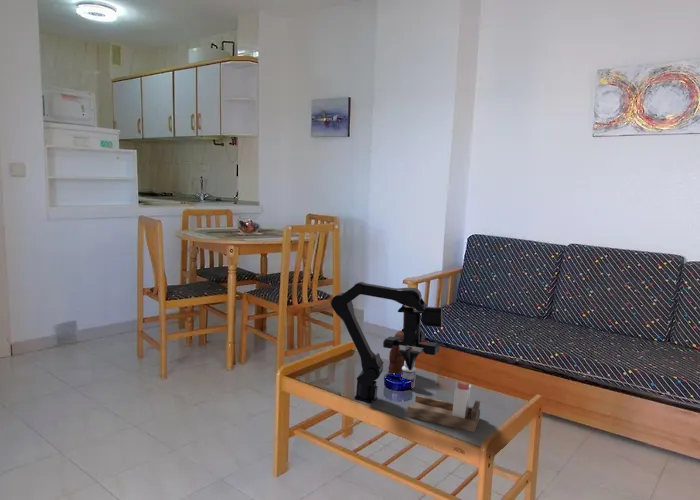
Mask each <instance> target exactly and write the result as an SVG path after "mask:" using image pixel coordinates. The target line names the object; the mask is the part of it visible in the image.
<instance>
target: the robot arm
mask: <svg viewBox="0 0 700 500" xmlns="http://www.w3.org/2000/svg"><path fill="white" fill-rule="evenodd" d="M360 295H362V296H363V295H364V296H369V297H373V298H379V299H385V300H391V301H394V302H396V303H398V304H400V305H401V307H399V308H398V310H397V312H398V313H403V316H402V317H403V318H402V319H403V320H402V321H403V322H402V327H403V328H402V329H401V331H402V332H403V340H402V341H400V339H399V338H398V337H394V336H391V335H390V336H388V337H387V338H385V339H384V340H383V342H382V347H383V348H385V349H391V348H392V347H393V346H399V350H398V352H400V353H401V354H402V356H403V358H404V360H405V362H406V364H407V367H408V369H409V370H412V368H413V366H414V363H415V364H416V359H417V358H418V356H419V355H421V354H422V353H424V354H425V355H431V356H435V355H436V354H438V353H439V352H440V351H441V350H440V349H441V348H440V344H439V343H438V342H431V341H428V342H426V343H424V342H425V338H426V332H423V331H422V326H421V324H422V325H424V327H429V328H431V327H432V328H441V329H442V328H443V316H444V315H443V308H442V307H441V306H437V307H435V306H427V304H426V302H425V301H424V299H423V298H422V292H421V291H420V289H418V288H417V287H400V288H399V287H398V288H396V287H395V288H394V287H388V286H383V285H377V284H373V283H365V282H363V281H359V282H356V283H355V284H354V285H353V286H352V287H350V288H349V289H348V290H347V291H345V292H339V293H338V294H337V295H335V296H333V297H332V298H331V301H330V306H331V308H332V310H333V312H335V313H336V315H337V316H338V317H339V318H340V319H341V320H342V321H343V323H344V325H345V327H346V329H347V332H348V334H349V336H350V338H351V340H352V342H353V344H354V347H355V349H356V350H357V352H358V355H359V357H360V364H361V369H362V370H361V371H360V373H359V375H357V377H356V380H357V381H356V392H355V396H354V397H353V398H355V400H358V399H359V401H362V400H363V402H367V403H373V401H375V399H376V398H377V397H378V396H377V395H378V385H377V383H378V382H377V381H376V380H378V379H379V378H380V376H381V375H382V373H383V370H384V361H383V360H382V359H381V355H380V353H379V352H377V353H374V352H373V350H372V349H371V347H370V345H369V343H368V341H367V339H366V336H365V335H364V332H363V329H362V328H361V326H360V324H359V322H358V320H357V317H356V316H355V309H354V303H353V300H355V299H356V298H357V297H359V296H360ZM414 367H415V366H414Z"/></svg>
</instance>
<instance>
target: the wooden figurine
mask: <svg viewBox="0 0 700 500" xmlns="http://www.w3.org/2000/svg"><path fill="white" fill-rule="evenodd" d="M393 337H398V338H399V339H400V341H402V340H403V332H402V330H398V331H397V332H395V334H394V336H393ZM398 350H399V346H393V347H392V348H390V351H389V357H388V359H389V365H388V370H387V371H388V372H387V374H388V373H402V367H403V366H405V365H404V361H405V360H404V358H403V356H402V354H401V353H400V352H398Z"/></svg>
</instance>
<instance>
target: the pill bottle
mask: <svg viewBox="0 0 700 500" xmlns="http://www.w3.org/2000/svg"><path fill="white" fill-rule="evenodd" d="M404 365H405V366H403V367H402V374H401V377H402V378H404V379H407V380H410V381H411V387H412V388H411V389H414V388H415V385H416V384H415V383H416V373H417V368H416V366H415V365H416V362H415V363H414V366H413V368H412V370H409V369H408V367H407V364H406V362H405V361H404ZM401 377H400V378H401Z"/></svg>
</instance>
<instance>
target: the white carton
mask: <svg viewBox="0 0 700 500" xmlns="http://www.w3.org/2000/svg"><path fill="white" fill-rule="evenodd" d="M471 389H472V384H471V383H470V384H469V383H468V382H465V381H458V383H457V385H456V387H455V389H454V394H453V395H454V397H453V402H452V403H453V412H452V416H456V417H460V418H465V419H466V417H467V415H468V409H469V407H470V400H471V399H470V398H471Z"/></svg>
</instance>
